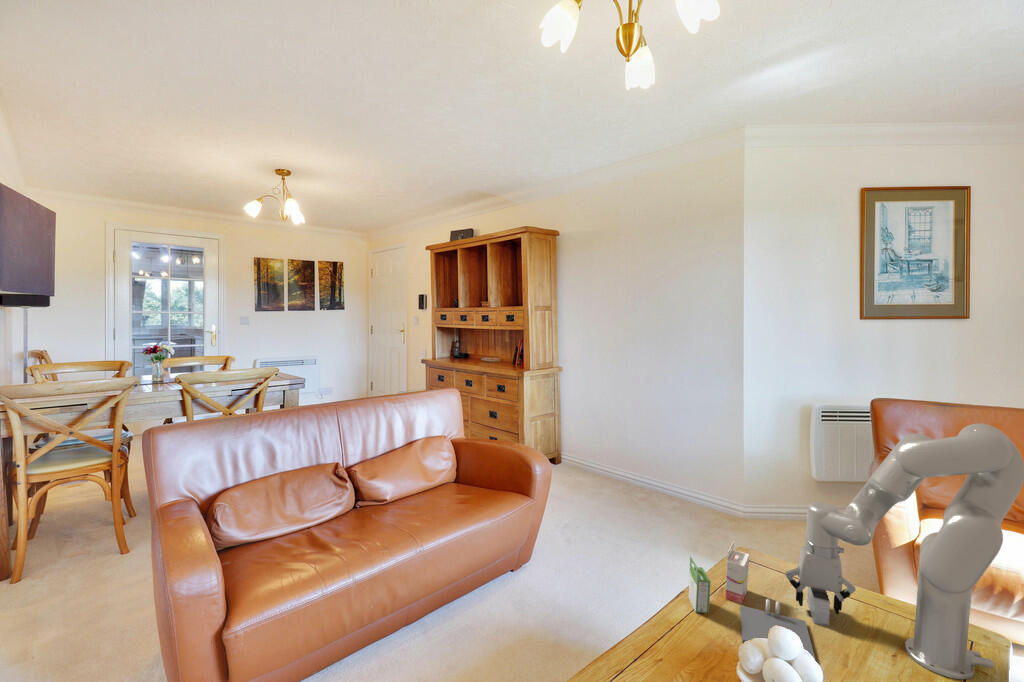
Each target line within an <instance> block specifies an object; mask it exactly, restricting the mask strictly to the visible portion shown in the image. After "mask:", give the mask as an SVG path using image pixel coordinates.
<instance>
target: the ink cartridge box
mask: <svg viewBox="0 0 1024 682" xmlns="http://www.w3.org/2000/svg"><path fill="white" fill-rule="evenodd" d="M734 546H735V541H732V544H731V545H730V547H729V549H728V551H727V558H726V570H725V571H726V573H725V574H726V575H725V576H726V577H725V597H724V598H725V599H727V600H729V601H733V602H735V603H738V604H741V605H742V604H743V603H744V600H745V597H746V594H747V592H748V581H749V579H748V578H749V577H748V576H749V562H750V554H749V553H746V552H742V551H739V550H735V549H734Z"/></svg>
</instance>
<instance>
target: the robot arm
mask: <svg viewBox="0 0 1024 682" xmlns="http://www.w3.org/2000/svg"><path fill="white" fill-rule="evenodd" d="M962 475H967V476H966V478H965V480H964V481H963V484H962V486H961V487H960V488H959V489H958V492H957V493H956V494H955V496H954V497H953V498H952V500H951V502H949V504H948V505H947V507H946V508H945V509H944V511H943V518H942V519H943V520H942V525H941V527H940V529H939V530H938V532H937V531H936V532H932V533H930V534H927V535H926V536H925V537H924V538H923V539H922V541H921V543H920V545H919V546H920V547H919V563H918V564H919V565H918V577H917V578H918V579H917V580H918V581H917V592H916V607H915V619H914V633H913V637H910V638H908V639H907V640H905V642H904V643H905V644H904V647H905V648H904V649H905V652H906V653H907V654H908V655H909V656H910V658H911V659H912V660H914V661H915V662H916V663H918V664H919V665H920V666H922V667H924V668H926V669H927V670H929V671H931V672H934V673H935V674H939V675H941V676H944V677H947V678H951V679H956V680H968V679H971V678H973V677H974V675H975V667H976V666H980V667H982V668H988V669H993V670H994V667H995V665H994V661H993V660H992V659H991V658H987V657H982V655H981V654H982V653H981V652H980V651H975V650H971V649H968V638H969V635H968V634H969V628H970V627H969V626H970V615H971V605H972V594H973V593H972V591H973V588H974V587H975V586H976V584H977V583H978V582H979V581H980V579H981V578H982V576H983V575H984V574H985V573H986V572H987V569H988V568H989V567H990V565H991V564H992V563H993V561H994V560H995V559H996V557H997V556H998V554H999V552H1000V551H1001V549H1002V546H1003V542H1004V535H1003V529H1002V523H1003V521H1004V518H1006V516H1007V514H1008V512H1009V511H1010V509H1011V508H1012V506H1013V504H1014V503H1015V501H1016V499H1017V497H1018V496H1019V494H1020V493H1021V490H1022V489H1023V488H1022V487H1023V485H1024V460H1023V457H1022V455H1021V453H1020V451H1019V448H1018V447H1017V446H1016V444H1015V442H1013V440H1011V438H1010V437H1009V436H1008V435H1006V434H1005V433H1004V432H1003V431H1001V429H999V428H997V427H995V426H992V425H991V424H986V423H973V424H968V425H967V426H964V427H963V428H962V429H961V430H960V431H959V433H957V435H956V436H950V437H944V438H942V437H941V438H936V439H935V438H932V437H930V436H927V435H925V434H922V433H909V434H906V435H905V436H903V437H902V438H901V439H900V440H899V441H898V442H897V444H895V446H894V447H893V448H892V450H891V451H890V452H889V453H888V455H887V456H886V457H885V458H884V460H882V462H881V463H880V465H878V467H877V468H876V469H875V471H874V472H873V473H872V474H871V476H870V477H869V478H868V479H867V482H866V483H865V485H864V486H863V487H862V488H861V489H860V490H859V492H858V493H857V494H856V496H854V497H853V499H852V500H851V501H850V502H849V504H848V505H847V506H846V507H845V509H844V511H843V513H840V511H839V509H838V508H837V507H835V506H834V505H832V504H829V503H826V502H822V501H813V502H810V503H809V504H808V505H807V511H806V529H805V530H806V531H805V545H804V546H802V547H801V550H800V553H799V559H798V565H797V567H796V568H793V569H790V570H787V571H785V572H784V574H785V577H786V578H787V580H788V581H789V583H790V585H791V586H793V588H794V589H795V601H796V602H797V601H798V602H797V603H798V604H799V607H803V606H804V603H803V601H804V589H805V588H806V587H807V588H808V587H812V588H816V589H821V590H826V592H831V593H834V596H833V611H834V613H835V614H836V615H837V616H839V615H840V611H842V609H843V608H842V607H843V606H842V605H843V602H844V601H845V599H847V598H849V597H850V596H851V595H852V594H853V593H854V592H855V591H856V587H855V585H854V584H853V583H851V582H850V581H848V580H847V579H846V578H844V577H843V570H842V568H843V567H842V562H841V557H840V553H842V554H845V548H844V547H840V546H839V540H841V541H844V542H846V543H848V544H851V545H854V546H866V545H868V544H870V543H871V541H872V540H873V537H874V535H875V530H876V527H877V526H878V524H879V523H880V522H881V520H882V519H883V518H884V517H885V515H887V514H888V512H889V511H891V509H892V508H893V507H894V506H895V505H897V504H898V503H902V502H905V501H907V500H908V499H909V498H910V497H911V496H912V494H913V493H914V492H915V491H916V490H917V488H919V486H921V484H922V483H923V481H924V480H925V479H926V478H939V477H952V476H962ZM795 576H797V577H798V578H799V579H798V580H797V581H796V579H794V578H793V577H795ZM843 585H844V586H845V587H846V588H845V589H843ZM842 589H843V590H842Z"/></svg>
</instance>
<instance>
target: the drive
mask: <svg viewBox="0 0 1024 682" xmlns="http://www.w3.org/2000/svg"><path fill="white" fill-rule="evenodd" d="M827 592H828V591H826V590H821V589H816V588H812V587H807V605H808V608H809V609H808V610H809V612H810V615H811V619H812V623H813V624H815V625H819V626H822V627H830V626H829V625H830V608H831V602H830V599H829V595H828V593H827Z"/></svg>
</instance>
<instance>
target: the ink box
mask: <svg viewBox="0 0 1024 682" xmlns="http://www.w3.org/2000/svg"><path fill="white" fill-rule="evenodd" d="M688 576H689V578H688V581H689V582H688V586H689V587H688V600H689V602H690V604H691V606H692V608H693V610H694V612H695V613H698V614H709V613H710V597H711V580H710V578H709V577H708V575H707V573H706V571H705V570H704V568H703V567H699V566H697V563H695V561H694V560H693V558H692V556H691V555H689V575H688Z"/></svg>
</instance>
